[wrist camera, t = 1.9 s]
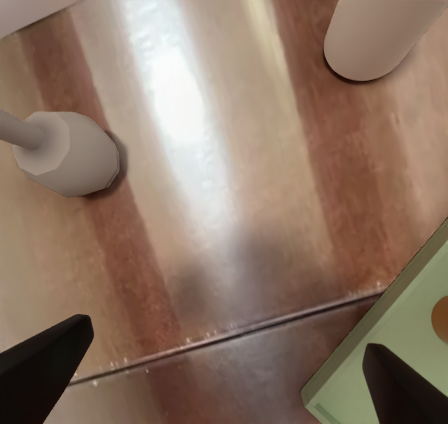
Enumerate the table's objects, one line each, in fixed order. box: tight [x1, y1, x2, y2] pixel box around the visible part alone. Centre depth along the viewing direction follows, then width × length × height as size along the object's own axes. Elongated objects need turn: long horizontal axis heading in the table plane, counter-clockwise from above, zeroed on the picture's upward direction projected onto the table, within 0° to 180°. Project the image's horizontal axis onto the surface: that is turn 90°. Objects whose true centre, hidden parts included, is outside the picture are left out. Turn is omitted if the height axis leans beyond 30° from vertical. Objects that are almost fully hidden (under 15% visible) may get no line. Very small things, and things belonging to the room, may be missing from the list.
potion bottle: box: [0, 109, 120, 197], centre depth 18 cm, size 9×9×18 cm
